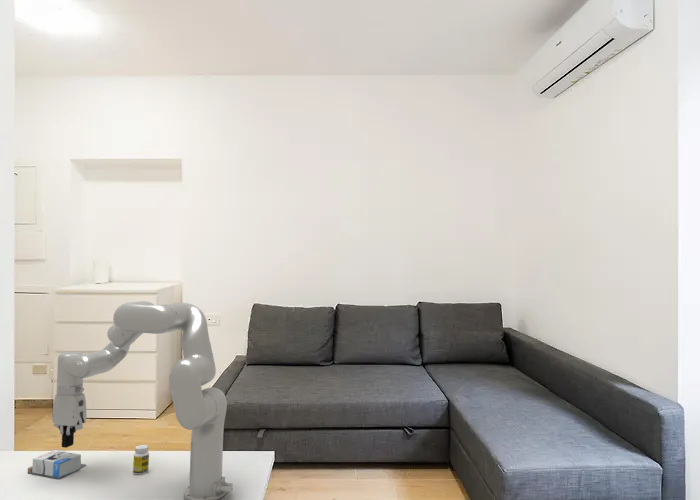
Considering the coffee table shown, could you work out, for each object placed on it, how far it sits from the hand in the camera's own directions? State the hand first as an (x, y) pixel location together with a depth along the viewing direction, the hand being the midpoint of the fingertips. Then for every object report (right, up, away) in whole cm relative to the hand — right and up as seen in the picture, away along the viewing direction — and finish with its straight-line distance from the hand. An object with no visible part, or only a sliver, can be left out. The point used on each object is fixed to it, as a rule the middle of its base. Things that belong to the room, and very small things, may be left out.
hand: (67, 445), depth 162 cm
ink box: (+1, -6, 0) cm, 7 cm away
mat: (-5, -9, +3) cm, 11 cm away
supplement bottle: (+23, -10, +2) cm, 25 cm away
